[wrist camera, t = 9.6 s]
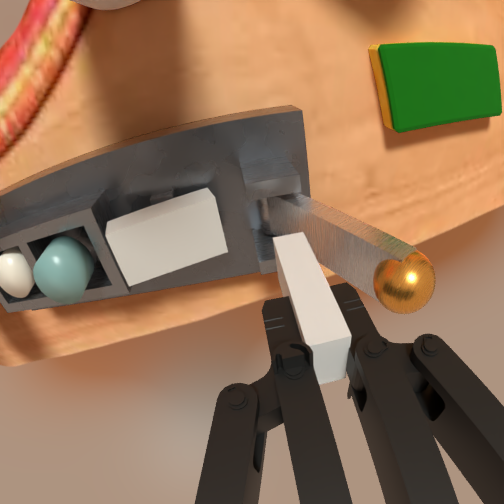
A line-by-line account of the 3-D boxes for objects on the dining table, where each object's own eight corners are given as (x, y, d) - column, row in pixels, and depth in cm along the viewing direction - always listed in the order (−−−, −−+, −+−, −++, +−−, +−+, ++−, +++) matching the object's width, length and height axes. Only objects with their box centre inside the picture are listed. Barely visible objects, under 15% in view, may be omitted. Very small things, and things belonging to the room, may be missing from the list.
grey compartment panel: (42, 291, 27) (18, 339, 21) (-8, 195, 20) (-50, 232, 14) (305, 241, 27) (328, 293, 21) (291, 105, 20) (321, 120, 14)
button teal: (62, 285, 20) (51, 307, 18) (39, 242, 18) (24, 262, 16) (102, 277, 20) (93, 300, 18) (80, 230, 18) (66, 251, 16)
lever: (249, 232, 21) (404, 341, 12) (241, 188, 19) (420, 284, 10) (283, 216, 22) (437, 305, 13) (278, 173, 20) (453, 250, 11)
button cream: (20, 282, 22) (9, 300, 20) (0, 246, 19) (-14, 263, 17) (48, 275, 22) (37, 294, 20) (27, 236, 19) (13, 254, 17)
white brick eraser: (128, 270, 20) (129, 286, 19) (107, 221, 18) (105, 235, 16) (219, 238, 22) (228, 251, 20) (207, 187, 20) (214, 197, 18)
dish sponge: (486, 109, 21) (502, 115, 19) (381, 127, 22) (396, 134, 20) (478, 43, 17) (495, 45, 15) (364, 45, 18) (379, 44, 16)
